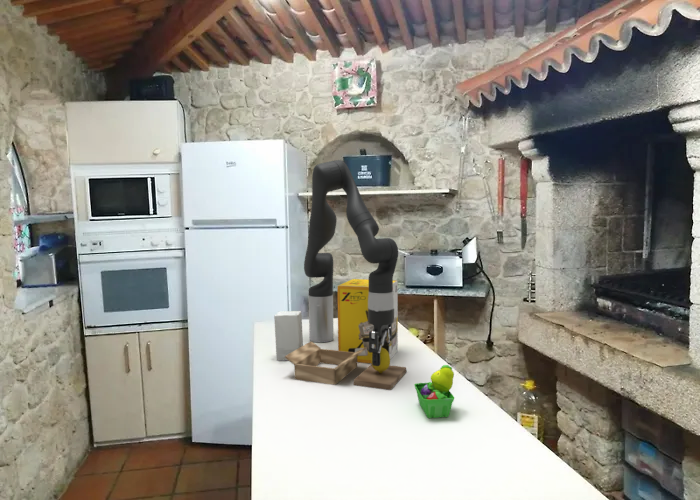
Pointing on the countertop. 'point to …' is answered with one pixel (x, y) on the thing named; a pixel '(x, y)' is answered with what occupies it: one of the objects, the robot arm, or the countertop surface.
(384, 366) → the lemon
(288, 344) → the skincare box
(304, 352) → the carton
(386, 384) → the walnut board
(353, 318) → the packaging box
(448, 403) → the fruit basket
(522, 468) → the countertop surface
